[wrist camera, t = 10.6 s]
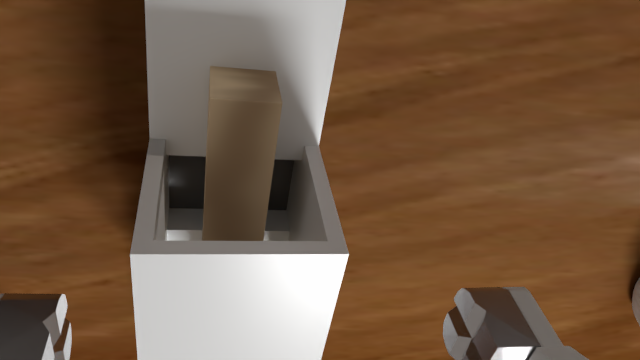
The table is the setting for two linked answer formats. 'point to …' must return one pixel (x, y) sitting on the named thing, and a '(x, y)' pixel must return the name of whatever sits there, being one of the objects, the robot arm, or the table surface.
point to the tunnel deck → (189, 180)
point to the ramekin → (636, 301)
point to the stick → (239, 152)
